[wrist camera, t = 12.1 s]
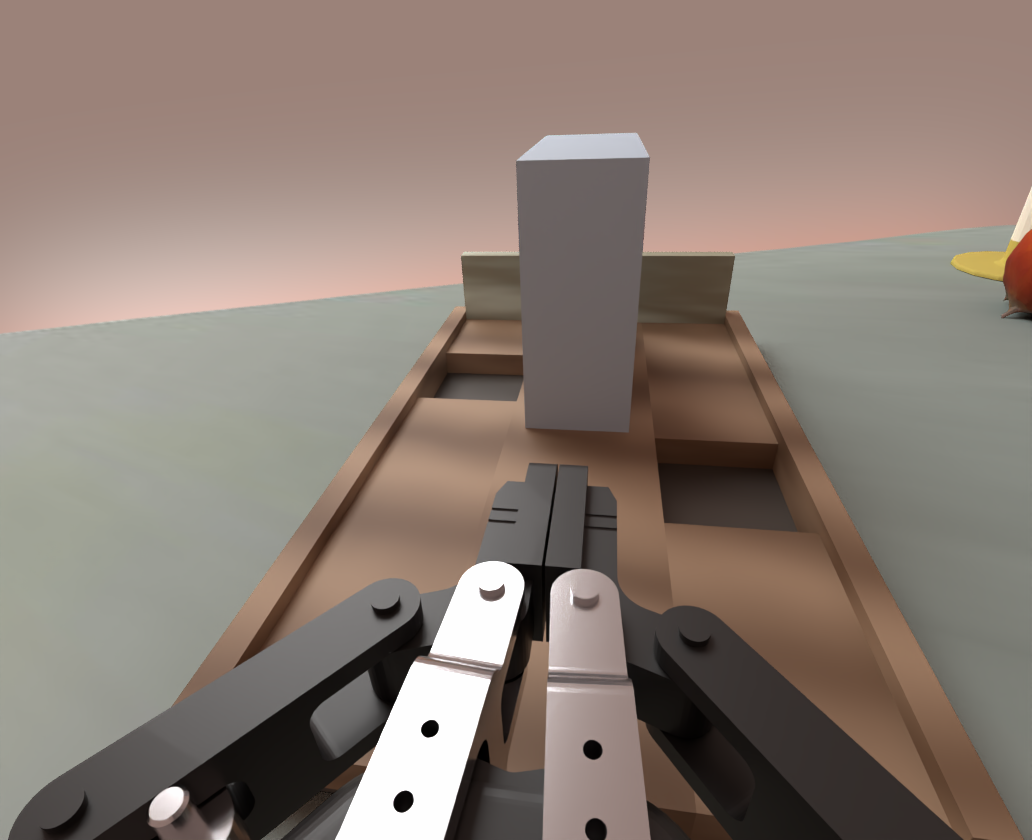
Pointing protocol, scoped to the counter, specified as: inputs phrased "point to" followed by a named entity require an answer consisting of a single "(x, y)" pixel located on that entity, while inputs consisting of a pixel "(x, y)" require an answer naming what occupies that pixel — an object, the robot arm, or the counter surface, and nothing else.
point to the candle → (994, 262)
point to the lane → (636, 528)
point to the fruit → (1019, 277)
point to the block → (580, 277)
